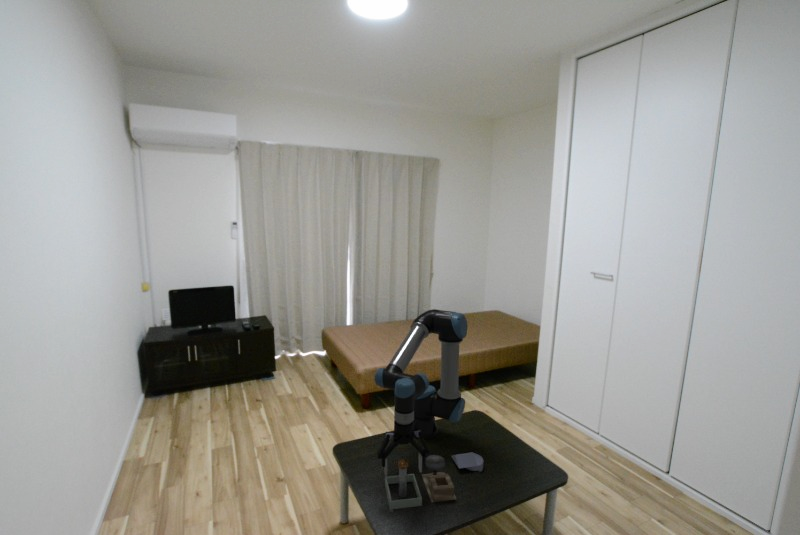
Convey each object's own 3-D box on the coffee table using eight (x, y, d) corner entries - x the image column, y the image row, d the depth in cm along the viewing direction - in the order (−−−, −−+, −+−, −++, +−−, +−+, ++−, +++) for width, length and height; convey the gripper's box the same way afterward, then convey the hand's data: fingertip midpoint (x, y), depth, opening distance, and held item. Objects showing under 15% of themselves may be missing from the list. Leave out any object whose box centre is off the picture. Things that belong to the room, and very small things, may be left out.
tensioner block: (420, 475, 157) (421, 454, 156) (443, 472, 159) (444, 452, 158) (431, 504, 141) (432, 482, 140) (456, 501, 142) (457, 479, 141)
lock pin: (396, 491, 146) (397, 459, 145) (406, 490, 147) (407, 458, 146) (398, 498, 142) (398, 466, 141) (408, 497, 143) (409, 465, 142)
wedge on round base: (458, 475, 157) (486, 471, 160) (459, 461, 156) (487, 456, 160) (450, 462, 166) (477, 458, 169) (451, 448, 165) (477, 444, 168)
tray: (384, 485, 150) (384, 476, 150) (413, 482, 153) (413, 473, 152) (390, 511, 137) (390, 502, 136) (421, 507, 139) (421, 498, 138)
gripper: (372, 428, 135) (371, 482, 138) (438, 422, 140) (436, 475, 142) (370, 417, 143) (369, 468, 145) (433, 412, 147) (431, 462, 149)
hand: (403, 472), depth 144 cm, fingers open, 13 cm apart
